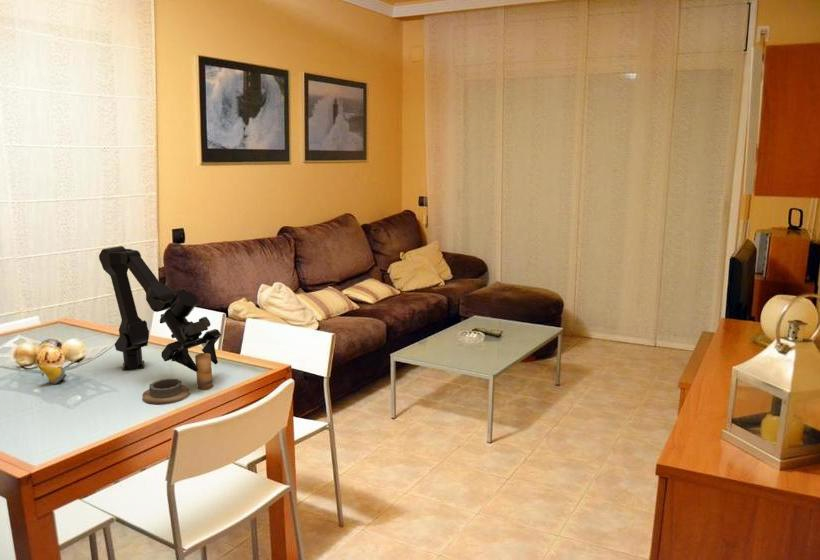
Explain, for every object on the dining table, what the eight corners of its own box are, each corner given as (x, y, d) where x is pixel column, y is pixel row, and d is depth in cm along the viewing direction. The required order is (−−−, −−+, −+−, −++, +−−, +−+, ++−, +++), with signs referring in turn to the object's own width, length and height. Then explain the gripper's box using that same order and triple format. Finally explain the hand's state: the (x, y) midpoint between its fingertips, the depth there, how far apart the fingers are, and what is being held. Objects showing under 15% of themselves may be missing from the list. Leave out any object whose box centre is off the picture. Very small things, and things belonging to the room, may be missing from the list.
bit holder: (143, 390, 201) (142, 379, 200) (189, 385, 205) (188, 374, 205) (141, 407, 189) (140, 395, 188) (190, 400, 193) (189, 389, 193)
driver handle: (197, 385, 205) (194, 354, 203) (212, 383, 206) (210, 352, 204) (197, 390, 201) (195, 358, 199) (213, 388, 202) (211, 357, 200)
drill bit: (70, 384, 208) (43, 369, 200) (57, 390, 209) (29, 375, 202) (73, 369, 211) (47, 354, 204) (60, 375, 212) (34, 360, 205)
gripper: (164, 317, 193) (193, 361, 190) (215, 303, 208) (242, 343, 205) (149, 339, 199) (177, 382, 195) (199, 324, 214) (226, 363, 211)
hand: (207, 367), depth 201 cm, fingers open, 7 cm apart
